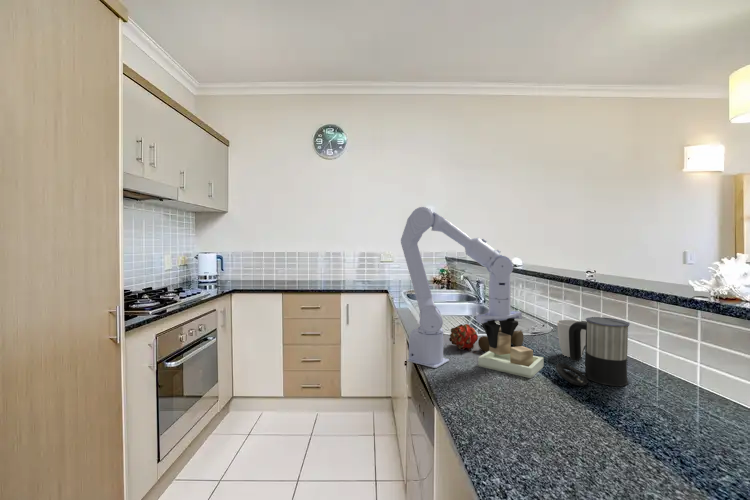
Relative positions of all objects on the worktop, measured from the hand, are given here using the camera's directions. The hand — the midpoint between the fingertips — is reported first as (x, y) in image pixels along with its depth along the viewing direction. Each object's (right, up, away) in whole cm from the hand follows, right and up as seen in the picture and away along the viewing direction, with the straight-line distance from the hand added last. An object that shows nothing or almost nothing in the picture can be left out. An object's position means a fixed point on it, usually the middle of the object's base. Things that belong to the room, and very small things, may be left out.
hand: (499, 346), depth 99 cm
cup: (+25, -5, +8) cm, 26 cm away
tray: (+3, -5, -1) cm, 6 cm away
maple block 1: (0, -2, 0) cm, 2 cm away
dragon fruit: (-6, -5, +16) cm, 18 cm away
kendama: (+7, -5, +18) cm, 20 cm away
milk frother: (+19, -6, -12) cm, 23 cm away
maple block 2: (+5, -5, -4) cm, 7 cm away
